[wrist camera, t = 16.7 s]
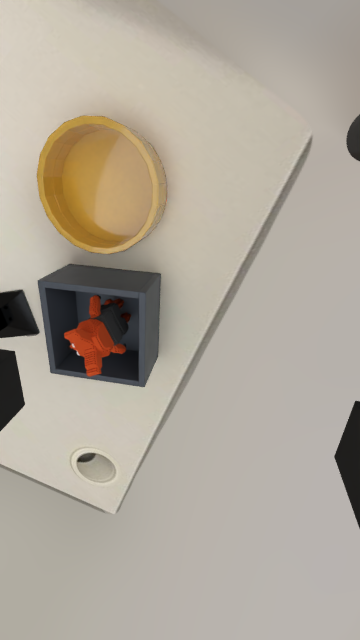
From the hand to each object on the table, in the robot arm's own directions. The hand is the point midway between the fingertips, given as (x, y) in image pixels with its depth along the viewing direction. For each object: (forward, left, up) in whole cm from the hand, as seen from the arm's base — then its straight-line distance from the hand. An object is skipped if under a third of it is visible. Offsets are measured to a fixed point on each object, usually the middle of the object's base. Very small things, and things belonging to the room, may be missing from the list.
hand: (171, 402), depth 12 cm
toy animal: (+13, +10, -28) cm, 33 cm away
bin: (+13, +10, -29) cm, 33 cm away
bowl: (+13, -6, -29) cm, 32 cm away
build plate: (+32, +13, -29) cm, 45 cm away
